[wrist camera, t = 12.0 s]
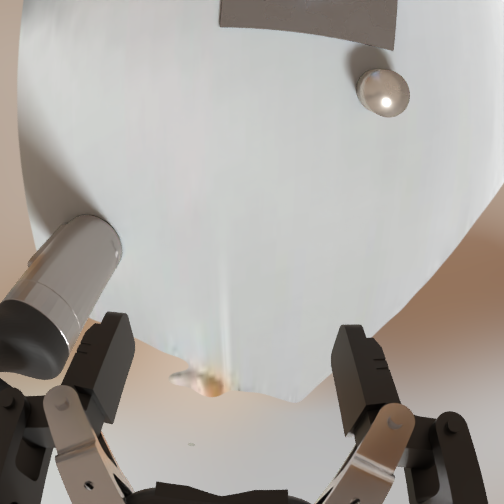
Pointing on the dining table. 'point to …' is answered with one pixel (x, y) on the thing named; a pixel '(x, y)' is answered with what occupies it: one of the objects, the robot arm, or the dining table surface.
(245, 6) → the duct collar
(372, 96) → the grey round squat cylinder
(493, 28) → the dining table surface
